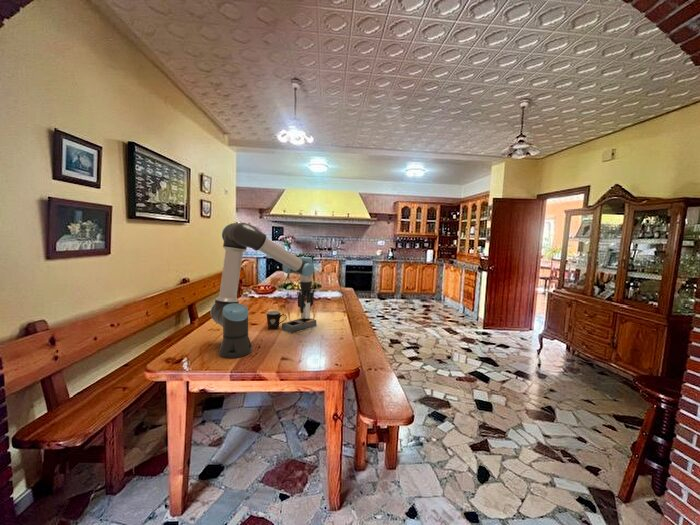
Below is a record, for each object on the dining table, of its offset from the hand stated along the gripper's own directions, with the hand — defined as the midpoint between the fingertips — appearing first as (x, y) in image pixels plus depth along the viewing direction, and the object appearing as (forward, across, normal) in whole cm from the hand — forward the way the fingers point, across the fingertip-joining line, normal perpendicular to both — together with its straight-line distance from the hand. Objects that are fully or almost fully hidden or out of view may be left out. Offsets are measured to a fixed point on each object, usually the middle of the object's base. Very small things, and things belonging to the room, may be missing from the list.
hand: (305, 316), depth 189 cm
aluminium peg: (+1, 0, 0) cm, 1 cm away
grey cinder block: (+6, -5, 0) cm, 8 cm away
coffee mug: (+6, -16, +10) cm, 20 cm away
